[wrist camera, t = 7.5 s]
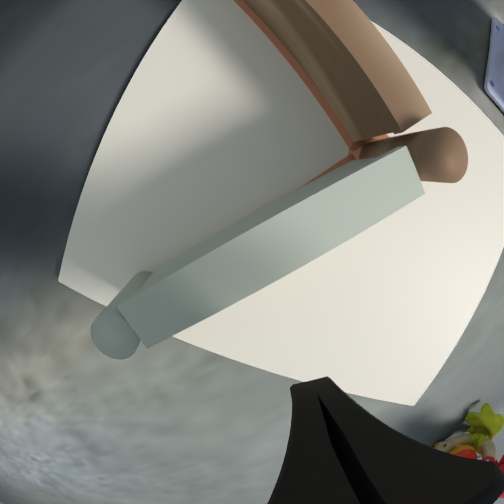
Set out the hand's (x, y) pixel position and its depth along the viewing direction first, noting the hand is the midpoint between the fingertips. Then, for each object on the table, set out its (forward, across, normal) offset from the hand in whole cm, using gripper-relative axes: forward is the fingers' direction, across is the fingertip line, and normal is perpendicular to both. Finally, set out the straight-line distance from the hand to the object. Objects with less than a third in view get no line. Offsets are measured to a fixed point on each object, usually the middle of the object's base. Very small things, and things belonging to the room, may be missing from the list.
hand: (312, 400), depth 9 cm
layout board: (+7, -5, -6) cm, 10 cm away
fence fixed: (+7, -4, -14) cm, 15 cm away
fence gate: (+6, +1, -5) cm, 8 cm away
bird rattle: (+7, -16, +20) cm, 26 cm away
